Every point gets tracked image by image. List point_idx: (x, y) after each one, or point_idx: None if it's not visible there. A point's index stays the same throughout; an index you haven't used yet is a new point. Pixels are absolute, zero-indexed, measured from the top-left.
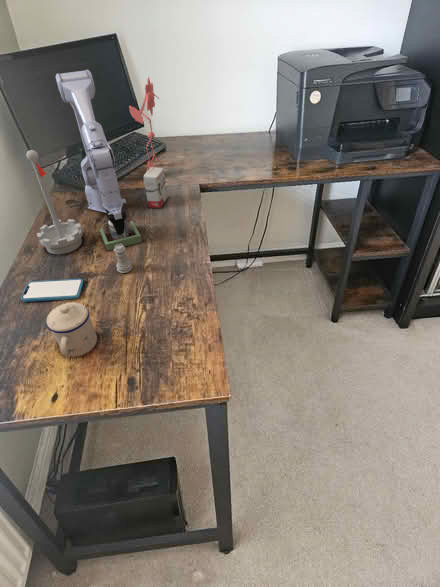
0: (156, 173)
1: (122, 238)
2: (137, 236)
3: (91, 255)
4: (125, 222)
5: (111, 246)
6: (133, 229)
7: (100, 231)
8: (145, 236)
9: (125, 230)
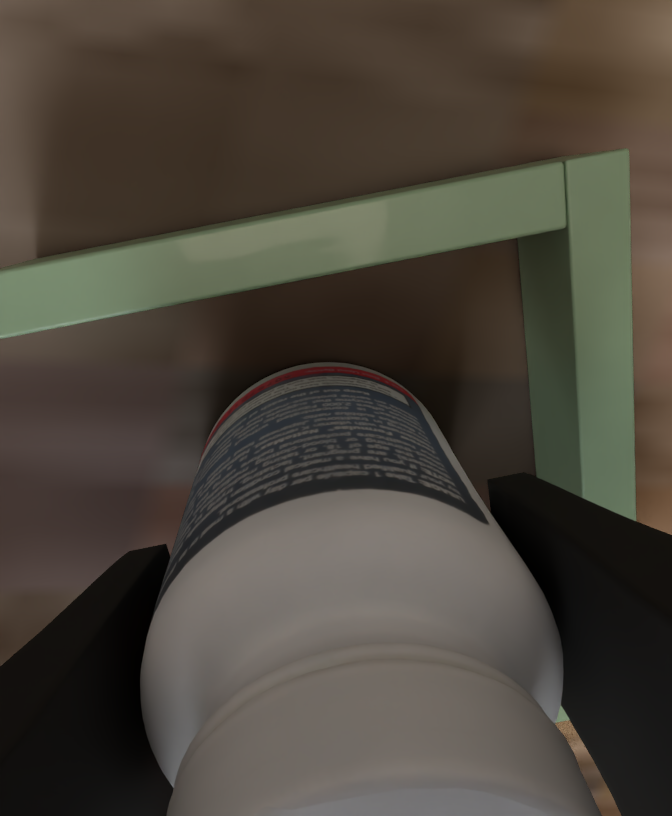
0: None
1: (586, 486)
2: (628, 217)
3: (598, 773)
4: (404, 482)
5: None
6: (287, 279)
7: None
8: (410, 70)
9: (438, 445)
